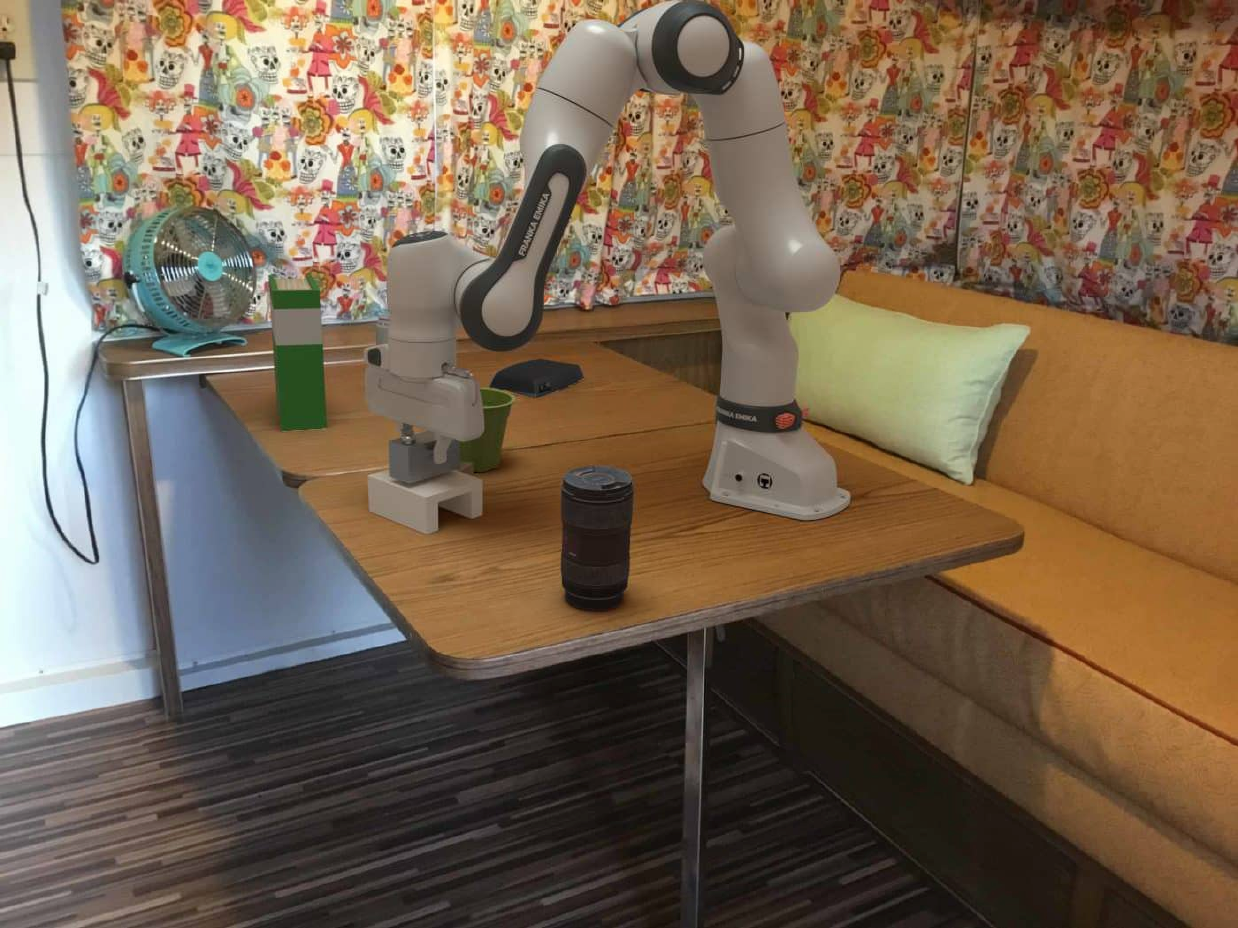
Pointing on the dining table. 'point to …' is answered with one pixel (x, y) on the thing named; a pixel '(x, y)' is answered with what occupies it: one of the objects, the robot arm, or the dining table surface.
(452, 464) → the block
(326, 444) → the dining table surface
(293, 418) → the hardback book
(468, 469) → the walnut block
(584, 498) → the camera lens
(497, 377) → the external hard drive
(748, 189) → the robot arm
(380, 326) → the energy drink can
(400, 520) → the stand
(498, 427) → the plant pot
